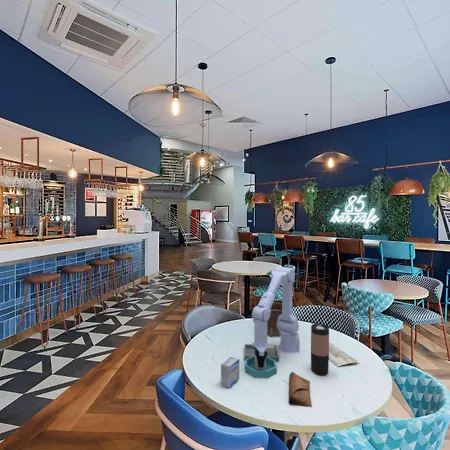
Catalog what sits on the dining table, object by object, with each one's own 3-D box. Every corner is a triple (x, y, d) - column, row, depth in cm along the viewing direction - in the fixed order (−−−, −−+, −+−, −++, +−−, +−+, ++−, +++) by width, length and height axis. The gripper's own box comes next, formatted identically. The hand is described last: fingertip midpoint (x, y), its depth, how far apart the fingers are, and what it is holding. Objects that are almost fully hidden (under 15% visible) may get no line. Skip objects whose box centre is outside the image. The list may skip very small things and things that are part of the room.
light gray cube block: (271, 352, 142) (271, 343, 142) (274, 356, 138) (274, 347, 138) (263, 353, 142) (263, 344, 142) (266, 357, 138) (266, 348, 138)
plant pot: (259, 327, 178) (259, 301, 178) (286, 328, 176) (286, 302, 175) (259, 337, 162) (259, 309, 161) (288, 339, 159) (288, 310, 159)
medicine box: (229, 388, 113) (230, 366, 113) (220, 385, 115) (220, 363, 115) (239, 379, 119) (239, 358, 119) (230, 376, 122) (230, 356, 122)
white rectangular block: (265, 365, 128) (265, 354, 128) (265, 369, 124) (265, 358, 124) (254, 364, 129) (254, 354, 128) (254, 369, 125) (254, 358, 124)
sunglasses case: (313, 408, 101) (303, 390, 102) (295, 415, 102) (286, 398, 103) (310, 380, 119) (301, 365, 119) (295, 387, 120) (286, 372, 121)
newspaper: (361, 365, 132) (360, 360, 132) (338, 371, 130) (337, 366, 130) (332, 344, 154) (332, 339, 154) (312, 348, 152) (311, 344, 152)
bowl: (274, 363, 133) (274, 356, 133) (277, 379, 119) (277, 371, 119) (245, 362, 134) (245, 355, 134) (245, 378, 120) (245, 370, 120)
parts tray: (276, 350, 146) (276, 345, 146) (279, 362, 133) (279, 357, 133) (244, 348, 147) (244, 344, 147) (244, 361, 134) (244, 356, 134)
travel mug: (319, 378, 121) (320, 331, 120) (306, 369, 127) (307, 325, 127) (332, 373, 124) (333, 328, 124) (319, 365, 131) (319, 322, 130)
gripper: (251, 327, 134) (251, 356, 134) (252, 340, 119) (252, 372, 119) (266, 328, 133) (266, 356, 133) (269, 341, 119) (268, 373, 119)
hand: (260, 364), depth 126 cm, fingers closed on white rectangular block, 4 cm apart
